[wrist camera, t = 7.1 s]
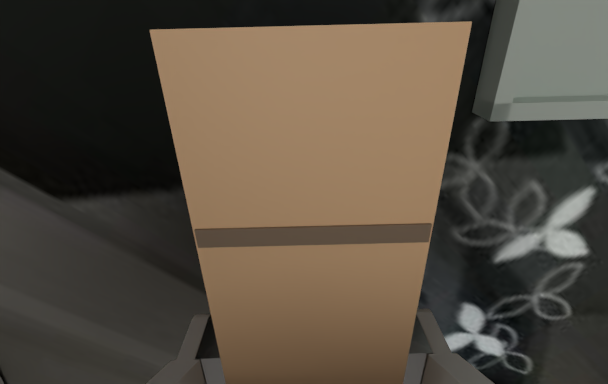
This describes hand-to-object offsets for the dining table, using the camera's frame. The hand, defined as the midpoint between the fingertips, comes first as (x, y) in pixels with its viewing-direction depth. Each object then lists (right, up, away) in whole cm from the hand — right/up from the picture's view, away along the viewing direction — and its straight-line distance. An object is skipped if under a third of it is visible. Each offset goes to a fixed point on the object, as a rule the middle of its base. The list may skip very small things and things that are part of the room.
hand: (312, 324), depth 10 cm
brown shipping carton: (0, +3, 0) cm, 3 cm away
